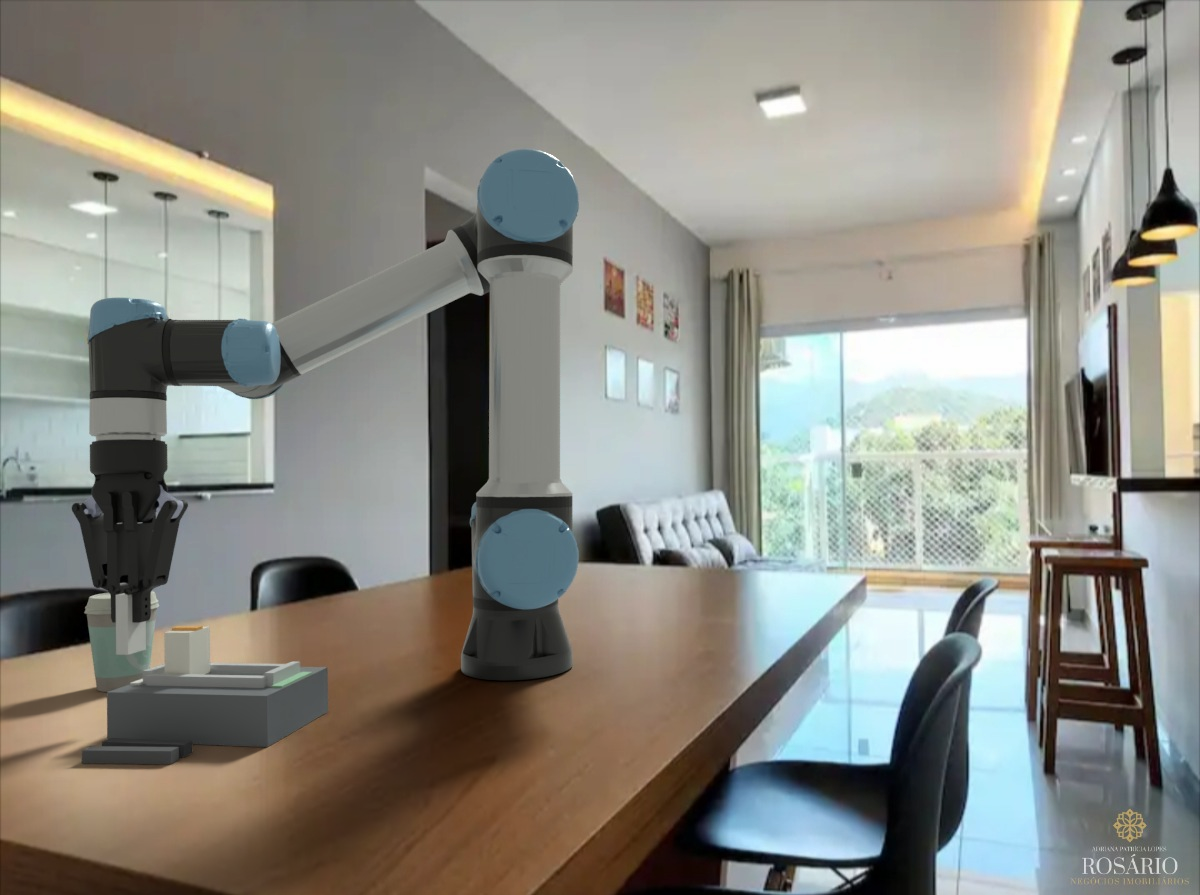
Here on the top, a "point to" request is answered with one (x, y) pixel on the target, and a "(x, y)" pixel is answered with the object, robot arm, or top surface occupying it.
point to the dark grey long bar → (152, 744)
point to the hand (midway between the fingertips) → (131, 651)
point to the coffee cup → (102, 633)
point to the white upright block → (187, 650)
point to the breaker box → (219, 704)
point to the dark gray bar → (130, 755)
